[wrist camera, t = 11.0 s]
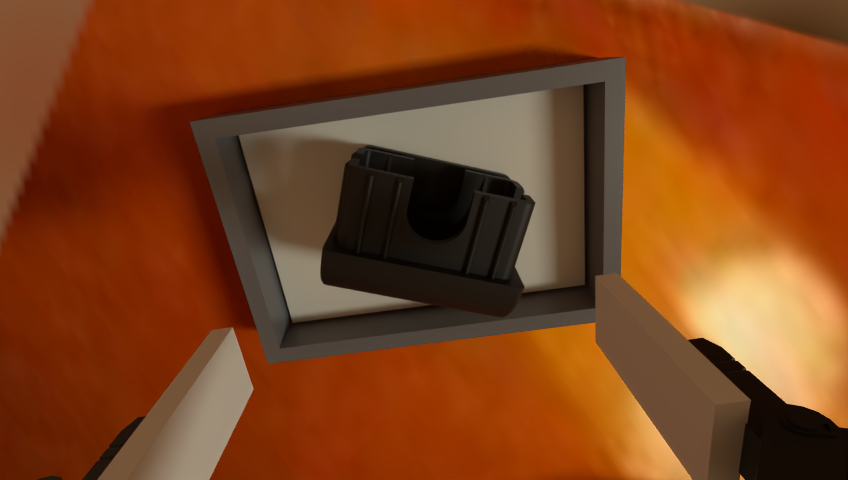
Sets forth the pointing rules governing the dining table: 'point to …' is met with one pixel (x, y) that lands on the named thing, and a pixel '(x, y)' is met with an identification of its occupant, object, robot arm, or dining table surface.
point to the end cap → (428, 232)
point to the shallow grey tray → (439, 139)
